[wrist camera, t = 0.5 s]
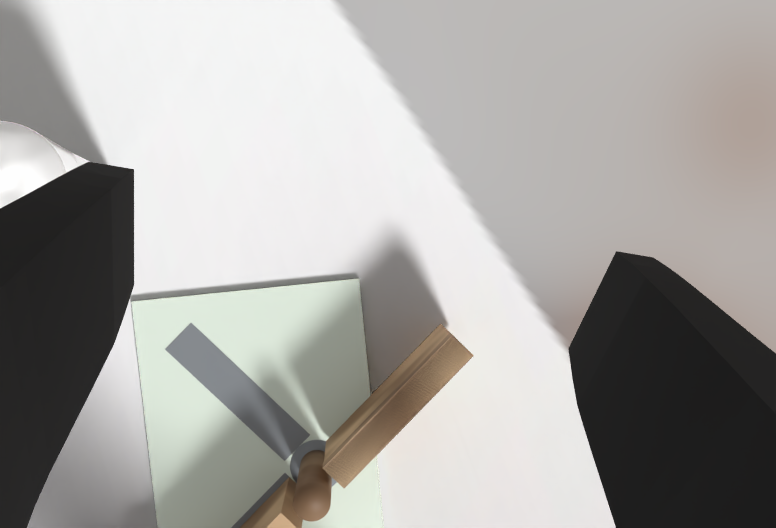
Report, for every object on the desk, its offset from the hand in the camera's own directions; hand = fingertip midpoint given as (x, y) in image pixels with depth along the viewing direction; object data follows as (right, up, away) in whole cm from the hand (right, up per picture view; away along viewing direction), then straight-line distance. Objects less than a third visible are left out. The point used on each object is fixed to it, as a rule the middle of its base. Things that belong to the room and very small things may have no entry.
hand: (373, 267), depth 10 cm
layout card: (-6, -9, +24) cm, 26 cm away
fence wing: (0, -6, +23) cm, 24 cm away
